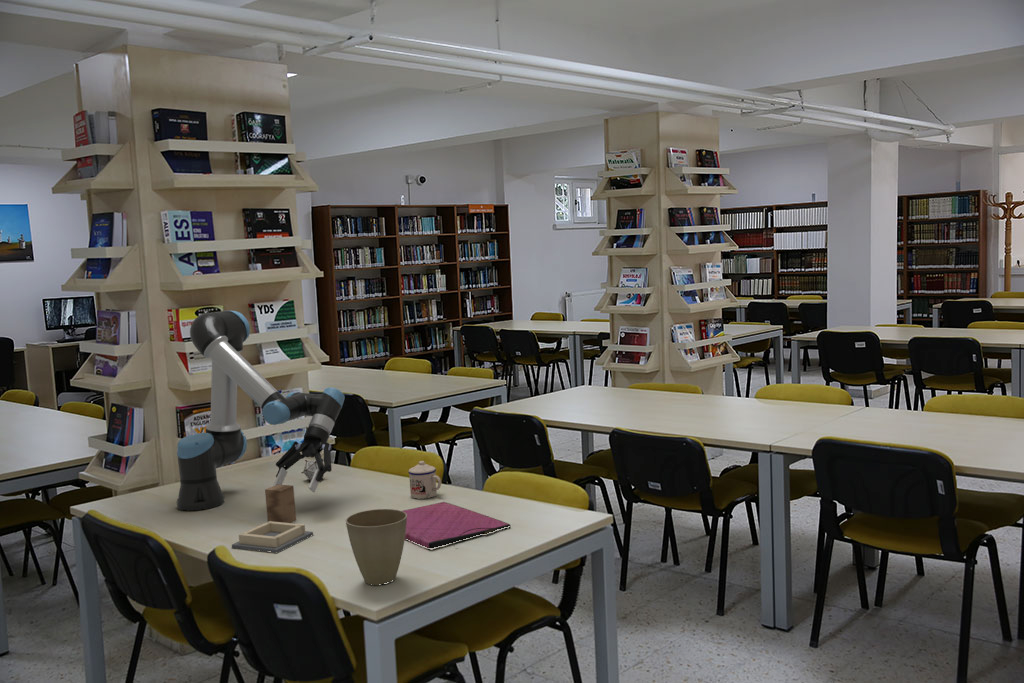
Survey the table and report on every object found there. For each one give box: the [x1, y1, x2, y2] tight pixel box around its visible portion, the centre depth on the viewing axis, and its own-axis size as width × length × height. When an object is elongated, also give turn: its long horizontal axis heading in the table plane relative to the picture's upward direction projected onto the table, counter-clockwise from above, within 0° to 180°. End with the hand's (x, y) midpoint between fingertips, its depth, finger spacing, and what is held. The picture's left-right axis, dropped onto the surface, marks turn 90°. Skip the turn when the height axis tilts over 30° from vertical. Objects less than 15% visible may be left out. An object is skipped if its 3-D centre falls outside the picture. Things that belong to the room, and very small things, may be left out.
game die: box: [301, 459, 324, 483], centre depth 321 cm, size 9×8×10 cm
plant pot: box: [345, 508, 407, 586], centre depth 215 cm, size 15×15×16 cm
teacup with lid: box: [408, 460, 442, 500], centre depth 290 cm, size 12×9×12 cm
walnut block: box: [264, 484, 297, 523], centre depth 270 cm, size 6×6×11 cm
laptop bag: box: [402, 501, 511, 548], centre depth 257 cm, size 40×4×27 cm
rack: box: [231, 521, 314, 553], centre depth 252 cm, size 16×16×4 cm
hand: (293, 489), depth 273 cm, fingers open, 13 cm apart
